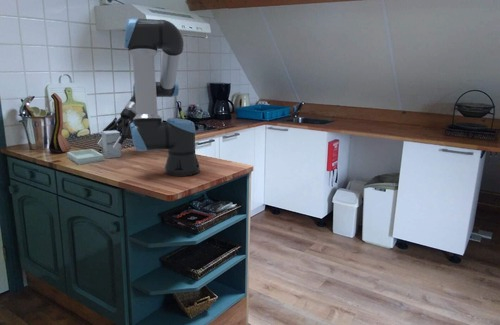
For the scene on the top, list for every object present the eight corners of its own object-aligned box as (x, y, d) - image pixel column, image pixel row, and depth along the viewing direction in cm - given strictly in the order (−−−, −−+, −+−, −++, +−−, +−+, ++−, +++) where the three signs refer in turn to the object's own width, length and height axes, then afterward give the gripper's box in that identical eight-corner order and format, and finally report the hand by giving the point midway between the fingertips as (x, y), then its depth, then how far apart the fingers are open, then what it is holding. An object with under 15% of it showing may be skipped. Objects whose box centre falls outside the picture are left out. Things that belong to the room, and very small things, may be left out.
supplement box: (106, 158, 192) (104, 133, 189) (103, 155, 198) (101, 130, 195) (122, 157, 196) (120, 132, 193) (117, 153, 202) (116, 129, 199)
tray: (104, 160, 189) (103, 155, 188) (78, 164, 181) (77, 158, 180) (92, 154, 200) (91, 148, 200) (67, 157, 193) (67, 152, 192)
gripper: (150, 119, 198) (127, 154, 190) (120, 114, 211) (97, 147, 203) (141, 109, 193) (117, 146, 184) (111, 105, 205) (87, 139, 197)
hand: (107, 146), depth 194 cm, fingers open, 11 cm apart
